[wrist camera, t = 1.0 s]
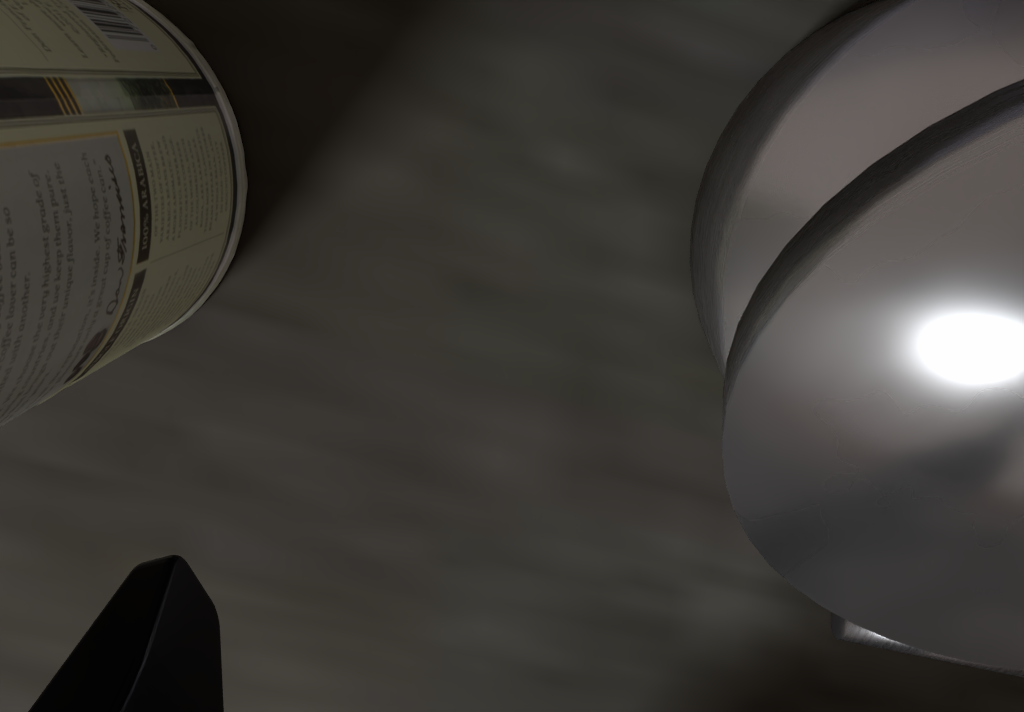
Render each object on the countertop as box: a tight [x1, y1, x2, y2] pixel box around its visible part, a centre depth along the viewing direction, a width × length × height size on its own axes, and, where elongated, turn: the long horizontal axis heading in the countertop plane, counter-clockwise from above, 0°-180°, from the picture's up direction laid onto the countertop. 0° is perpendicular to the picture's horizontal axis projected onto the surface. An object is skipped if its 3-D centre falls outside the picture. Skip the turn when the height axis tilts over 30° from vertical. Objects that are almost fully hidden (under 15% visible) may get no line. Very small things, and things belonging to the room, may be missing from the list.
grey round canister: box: [690, 0, 1024, 380], centre depth 21 cm, size 13×13×7 cm
